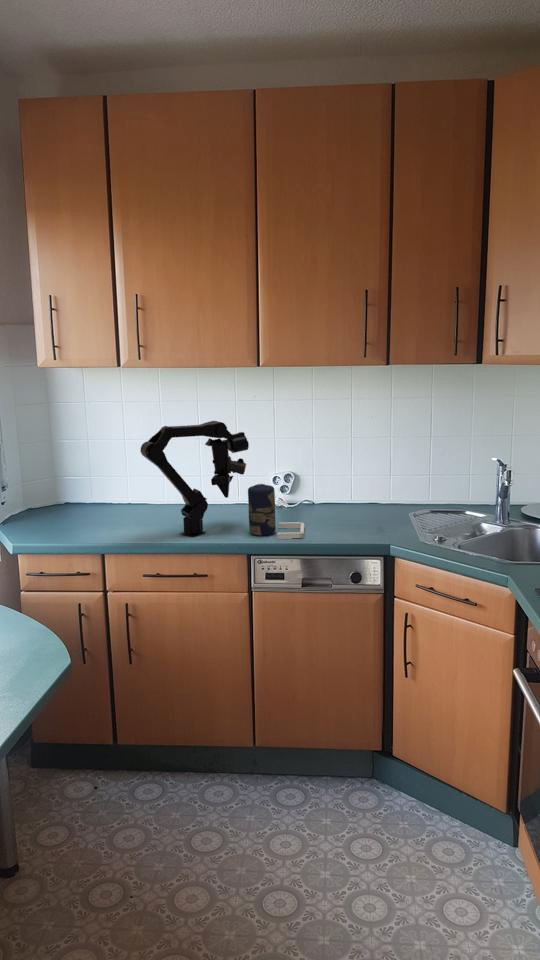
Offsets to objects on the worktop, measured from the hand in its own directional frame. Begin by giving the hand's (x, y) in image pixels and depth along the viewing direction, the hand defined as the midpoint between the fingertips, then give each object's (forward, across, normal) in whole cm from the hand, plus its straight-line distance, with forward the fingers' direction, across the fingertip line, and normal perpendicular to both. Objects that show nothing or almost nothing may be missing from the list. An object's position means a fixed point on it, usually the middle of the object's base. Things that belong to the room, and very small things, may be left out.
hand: (226, 497), depth 271 cm
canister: (+13, -7, -12) cm, 19 cm away
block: (+14, -7, -22) cm, 27 cm away
